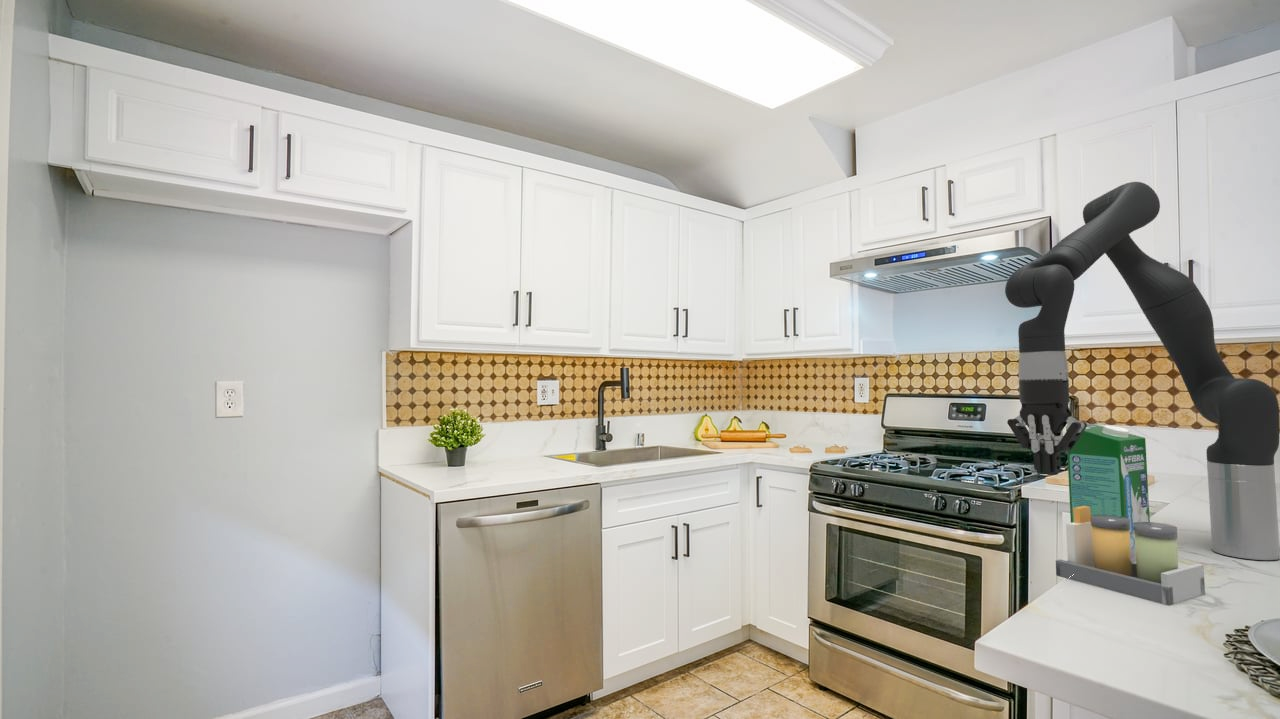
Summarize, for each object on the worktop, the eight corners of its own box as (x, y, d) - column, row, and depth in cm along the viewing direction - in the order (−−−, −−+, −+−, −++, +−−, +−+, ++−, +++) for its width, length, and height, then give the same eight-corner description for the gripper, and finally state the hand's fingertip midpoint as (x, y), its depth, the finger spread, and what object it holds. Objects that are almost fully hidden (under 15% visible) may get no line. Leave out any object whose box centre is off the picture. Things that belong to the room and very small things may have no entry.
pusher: (1093, 567, 107) (1090, 504, 108) (1101, 569, 106) (1097, 505, 107) (1068, 573, 104) (1065, 508, 105) (1076, 575, 103) (1072, 510, 104)
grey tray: (1092, 571, 109) (1090, 541, 109) (1205, 599, 94) (1203, 564, 95) (1056, 580, 105) (1055, 549, 105) (1169, 610, 90) (1167, 574, 90)
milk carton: (1126, 568, 110) (1119, 427, 111) (1071, 556, 118) (1065, 425, 119) (1152, 561, 114) (1145, 425, 115) (1097, 549, 122) (1091, 422, 123)
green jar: (1148, 584, 99) (1144, 520, 100) (1187, 594, 94) (1184, 527, 95) (1129, 589, 97) (1126, 524, 97) (1169, 600, 92) (1165, 531, 93)
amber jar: (1105, 573, 105) (1102, 513, 105) (1141, 582, 100) (1136, 518, 101) (1086, 578, 103) (1083, 516, 103) (1121, 587, 98) (1117, 522, 99)
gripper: (993, 378, 116) (998, 471, 116) (1069, 377, 104) (1074, 481, 103) (1020, 377, 119) (1024, 468, 119) (1096, 376, 107) (1101, 477, 106)
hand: (1047, 473), depth 111 cm, fingers closed
